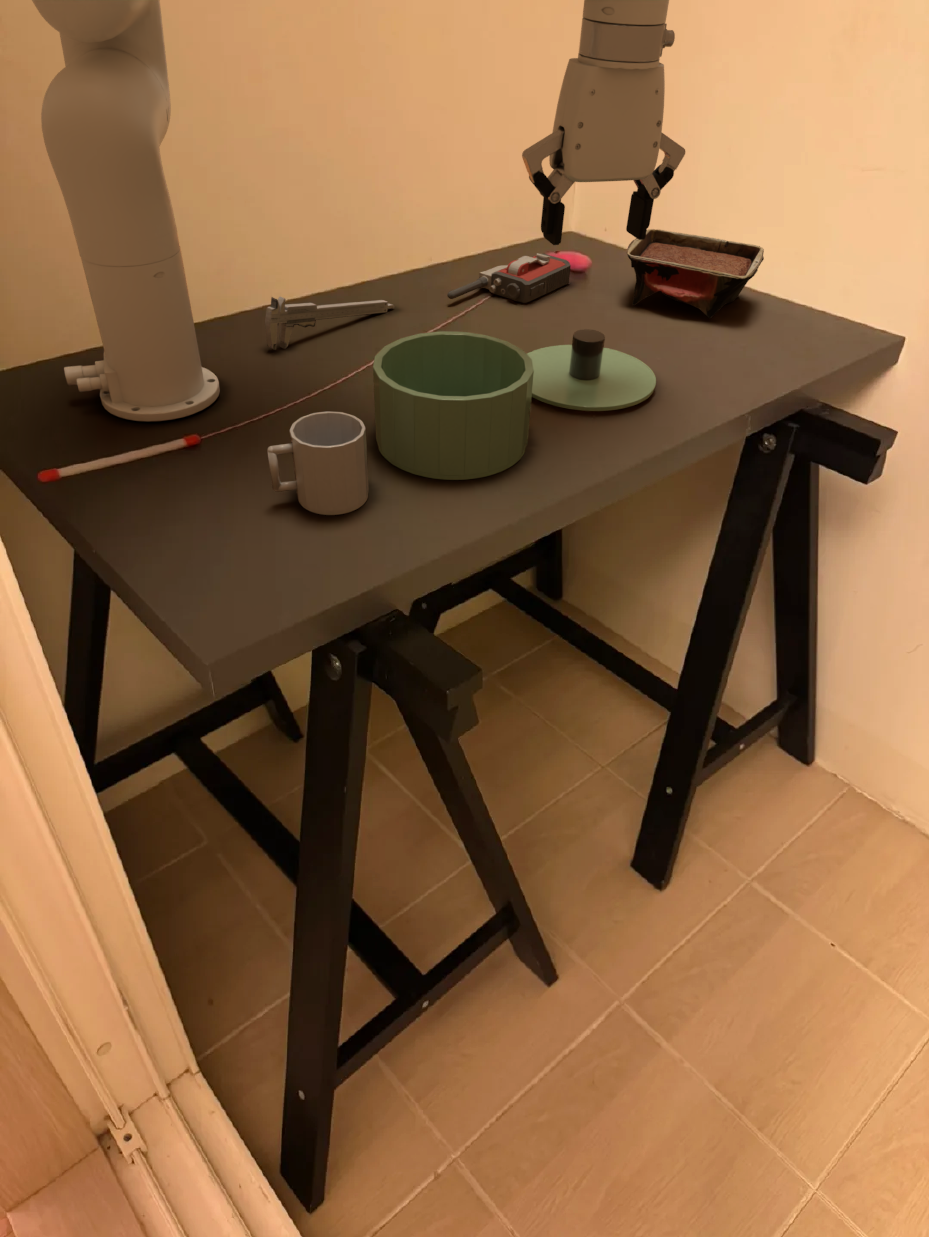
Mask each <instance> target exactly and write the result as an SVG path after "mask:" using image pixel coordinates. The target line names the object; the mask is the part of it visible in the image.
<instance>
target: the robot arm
mask: <svg viewBox="0 0 929 1237" xmlns="http://www.w3.org/2000/svg"><path fill="white" fill-rule="evenodd" d="M31 1H32V3H33V5H34V7H35V8H36V10H37V11H38V13H39V14H40V16H41V17H42V18H43V19H44V21H45V22H47V24H49V25H50V26H51V27H52V28H53V29H54V30H55V31H56V32H58V33H59V38H60V43H61V44H60V45H61V50H62V55H63V61H64V65H65V67H63V68H62V69H61V70H60V71H59V72H57V74H56V75H54V77H53V79H52V80H51V81H50V83H49V84H48V86H47V89H46V91H45V94H44V96H43V101H42V104H41V114H40V115H41V116H40V117H41V118H40V120H41V132H42V133H41V134H42V137H43V142H44V146H45V150H46V153H47V156H48V158H49V161H50V164H51V167H52V170H53V172H54V174H55V177H56V181H57V183H58V186H59V188H60V191H61V194H62V197H63V199H64V202H65V207H66V210H67V212H68V216H69V219H70V220H69V221H70V223H71V227H72V230H73V234H74V238H75V242H76V246H77V251H78V254H79V257H80V260H81V263H82V264H81V265H82V268H83V271H84V275H85V276H84V277H85V280H86V284H87V288H88V291H89V295H90V299H91V300H90V301H91V303H92V307H93V311H94V315H95V321H96V323H97V328H98V332H99V335H100V339H101V343H102V348H103V360H96V361H94V364H92V365H72V366H64V367H63V371H64V372H63V373H64V376H65V380H66V384H67V385H68V387H69V386H77V389H78V392H79V393H83V392H92V391H96V390H99V397H100V401H101V405H102V406H103V408H104V410H106V411H107V412H108V413H109V414H111V415H113V416H115V417H118V418H120V419H124V420H128V421H133V422H134V421H136V422H148V423H149V422H166V421H172V420H177V419H181V418H185V417H189V416H191V415H194V414H197V413H199V412H202V411H203V410H205V409H206V408H208V407H210V406H211V405H212V404H213V403H215V401H216V400H217V399H218V397H219V396H220V393H221V387H220V381H219V378H218V376H217V375H215V373H214V372H212V371H211V370H210V369H208V368H205V367H203V366H202V362H201V360H202V359H201V355H200V350H199V344H198V338H197V333H196V327H195V322H194V316H193V310H192V305H191V304H192V303H191V299H190V294H189V288H188V282H187V277H186V272H185V266H184V261H183V260H184V259H183V255H182V254H183V253H182V250H181V245H180V240H179V234H178V229H177V228H178V227H177V223H176V218H175V214H174V209H173V204H172V201H171V197H170V192H169V189H168V185H167V181H166V176H165V173H164V168H163V164H162V162H163V161H162V157H161V148H160V147H161V145H162V142H163V141H164V140H165V137H166V135H167V132H168V129H169V125H170V121H171V111H172V108H171V107H172V106H171V105H172V104H171V92H170V83H169V82H170V81H169V72H168V63H167V55H166V46H165V36H164V30H163V29H164V27H163V19H162V9H161V0H31ZM669 4H670V0H583V9H582V18H581V26H580V33H579V34H580V35H579V45H578V53H577V54H578V55H577V57H572V58H569V59H568V62H567V65H566V69H565V72H564V75H563V79H562V82H561V83H562V84H561V87H560V91H559V95H558V100H557V104H556V110H555V116H554V121H553V127H552V132H551V133H549V134H548V135H546V136H545V137H544V138H542V139H540V140H539V141H537V142H535V143H534V144H532V145H530V146H529V147H527V148H526V149H524V150H523V151H522V152H521V153H522V154H521V157H522V160H523V161H522V162H523V164H524V166H525V169H526V172H527V174H528V179H529V181H530V182H531V183H532V185H533V186H534V187H535V188H536V190H537V191H538V192H539V194H540V196H542V197H543V199H542V210H541V221H540V231H541V233H542V237H543V238H544V239H545V240H546V241H548V242H549V243H550V244H551V245H553V246H559V245H560V244H561V243H562V237H563V228H564V219H565V209H566V205H565V204H564V203H563V202H562V199H563V197H564V196H565V195H566V193H567V192H568V191H569V190H570V189H571V187H572V186H573V185H574V184H575V183H604V182H605V183H606V182H625V181H626V182H627V181H633V183H634V184H635V186H636V188H637V190H633V191H632V194H631V197H630V202H629V209H628V215H627V222H626V227H625V230H626V233H628V234H630V236H632V237H634V238H635V239H636V238H637V239H638V240H644V239H645V237H646V231H647V230H648V229H649V227H650V225H651V219H652V214H653V207H654V202H655V201H654V200H656V199H658V198H659V197H660V195H661V191H662V190H663V189H664V187H666V186H667V184H668V183H669V182H671V180H672V179H673V178H674V175H675V171H676V170H677V169H678V167H679V166H680V164H681V163H682V161H683V159H684V157H685V155H686V149H685V148H684V147H683V146H682V145H680V144H679V143H678V142H676V141H675V140H673V139H672V138H670V137H669V136H668V135H666V134H665V133H664V132H662V131H663V122H664V113H665V112H664V111H665V110H664V109H665V91H666V90H665V88H666V87H665V85H666V84H665V83H666V82H665V81H666V80H665V64H664V63H662V62H660V60H661V59H660V58H662V55H663V50H664V49H665V48H671V47H673V45H674V43H675V39H676V37H675V36H676V33H675V31H674V30H673V29H667V23H666V21H667V17H668V10H669V6H670V5H669ZM660 151H662V152H663V154H664V157H663V159H662V162H661V164H659V165H658V166H657V163H658V158H659V152H660ZM548 157H549V158H548ZM546 158H548V159H549V160H548V161H549V167H550V168H551V169H552V171H551V172H550V174H549V175H548V176H547V175H546V174H545V173H544V172H545V171H544V170H543V168H544V167H543V161H544V160H545V159H546ZM656 166H657V167H656Z"/></svg>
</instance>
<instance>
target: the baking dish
mask: <svg viewBox="0 0 929 1237" xmlns="http://www.w3.org/2000/svg"><path fill="white" fill-rule="evenodd" d="M764 251H765V249H764V248H763V247H762V246H760V245H756V244H752V243H745V242H739V241H734V240H725V239H721V238H716V237H709V236H705V235H704V236H703V235H697V234H689V233H683V232H677V231H676V232H675V231H669V230H665V229H654V228H647V231H646V237H645V239H644V240H638V239H637V238H636V237H635V238H634V239H633V240H632V241H631V242H630V243H629V244H628V246H627V249H626V255H627V257H628V259H629V260H630V267H631V268H632V269H633V270H634V273H635V285H634V291H633V296H632V306H633V307H634V306H636V305H637V304H638V303H640V302H641V301H643V300H644V299H646V298H648V297H650V296H652V295H654V294H655V293H658V292H661V294H662V295H664V296H666V297H667V298H670V299H671V300H673V301H675V302H678V303H683V304H687V305H690V306H693V307H695V308H697V309H699V310H700V311H701V312H702V313H703V314H704V315H706V317H707V318H708V319H711V318H713V317H714V316H715V315H716V314H717V313H718V312H719V311H721V309H722V308H723V307H724V306H725V305H726V304H727V305H728V304H730V303H733V302H734V301H735V300H736V299H738V297H739V295H740V294H741V292H742V291H743V289H744V288H745V286H746V285H747V283H748V282H749V281H750V280H751V279H753V277H755V275H756V274H757V272H758V269H759V267H760V266H761V264H762V263H763V261H764V260H765V259H764V258H765V257H764Z"/></svg>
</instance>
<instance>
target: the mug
mask: <svg viewBox="0 0 929 1237" xmlns="http://www.w3.org/2000/svg"><path fill="white" fill-rule="evenodd" d="M289 439H290V443H284V444H283V443H282V444H276V445H270V446H268V447H267V449H266V451H267V458H268V466H269V471H270V472H269V473H270V479H271V480H270V481H271V488H272V491H273V492H275V493H281V492H288V491H294V490H296V495H297V500H298V503H299V504H300V506H302V507H303V509H305V510H307V511H309V512H310V513H314V514H317V515H318V514H319V515H323V516H325V515H326V516H335V515H336V516H337V515H343V514H344V515H345V514H348V513H351V512H354V511H355V510H357V509H359V508H361V507H362V506H364V505H365V503H366V502H367V501H368V498H369V491H370V489H369V488H370V487H369V486H370V485H369V467H368V449H367V432H366V426H365V424H364V422H363V420H361V419H360V418H358V417H357V416H355V415H354V414H349V413H347V412H343V411H319V412H313V413H310V414H307V415H304V416H301V417H299V418H298V419H297V420H295V421H293V423H292V424H291V426H290V429H289ZM290 453H291V455H292V465H293V472H294V473H293V474H294V480H289V481H281V474H280V466H279V457H278V455H282V454H290Z"/></svg>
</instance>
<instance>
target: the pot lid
mask: <svg viewBox="0 0 929 1237" xmlns="http://www.w3.org/2000/svg"><path fill="white" fill-rule="evenodd" d="M571 340H572V341H571V344H559V345H558V344H557V345H550V346H546V347H545V346H544V347H541V348H538V349H534V350H532V351H530V352H526V354H527V355H528V356H529V357H530V358H531V359H532V363H533V369H534V373H533V385H532V397H531V398H533V399H535V400H537V401H540V402H542V403H544V404H547V405H551V406H554V407H558V408H563V409H568V410H575V411H585V412H604V411H605V412H606V411H616V410H621V409H627V408H631V407H634V406H635V405H638V404H640V403H642V402H644V401H646V400H648V399H649V398H650V397H651V396H652V395H653V393H654V391H655V390H656V387H657V386H656V385H657V377H656V375H655V373H654V371H653V370H652V368H650V366H649V365H647V364H646V363H645V362H643V361H642V360H640V359H639V358H637V357H635V356H632V355H631V354H628V353H626V352H622V351H620V350H617V349H614V348H613V349H612V348H608V347H605V340H606V335H605V334H604V333H603V332H601V331H599V330H595V329H587V328H585V329H579V330H576V331H574V332H573V334H572V339H571Z"/></svg>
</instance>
